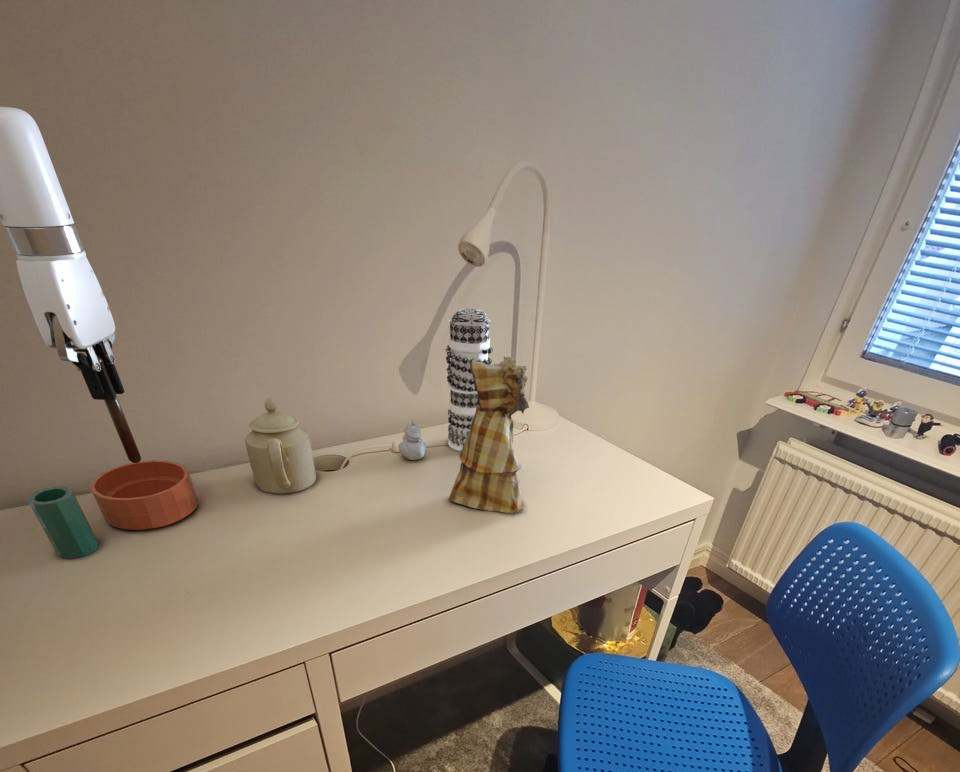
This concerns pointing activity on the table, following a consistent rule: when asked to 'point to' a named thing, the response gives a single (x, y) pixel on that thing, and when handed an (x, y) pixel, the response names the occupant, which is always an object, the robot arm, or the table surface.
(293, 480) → the sugar bowl
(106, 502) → the mixing bowl
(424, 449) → the grey figurine
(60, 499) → the stick holder
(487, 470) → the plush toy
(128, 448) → the stirring stick
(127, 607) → the table surface
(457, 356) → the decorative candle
